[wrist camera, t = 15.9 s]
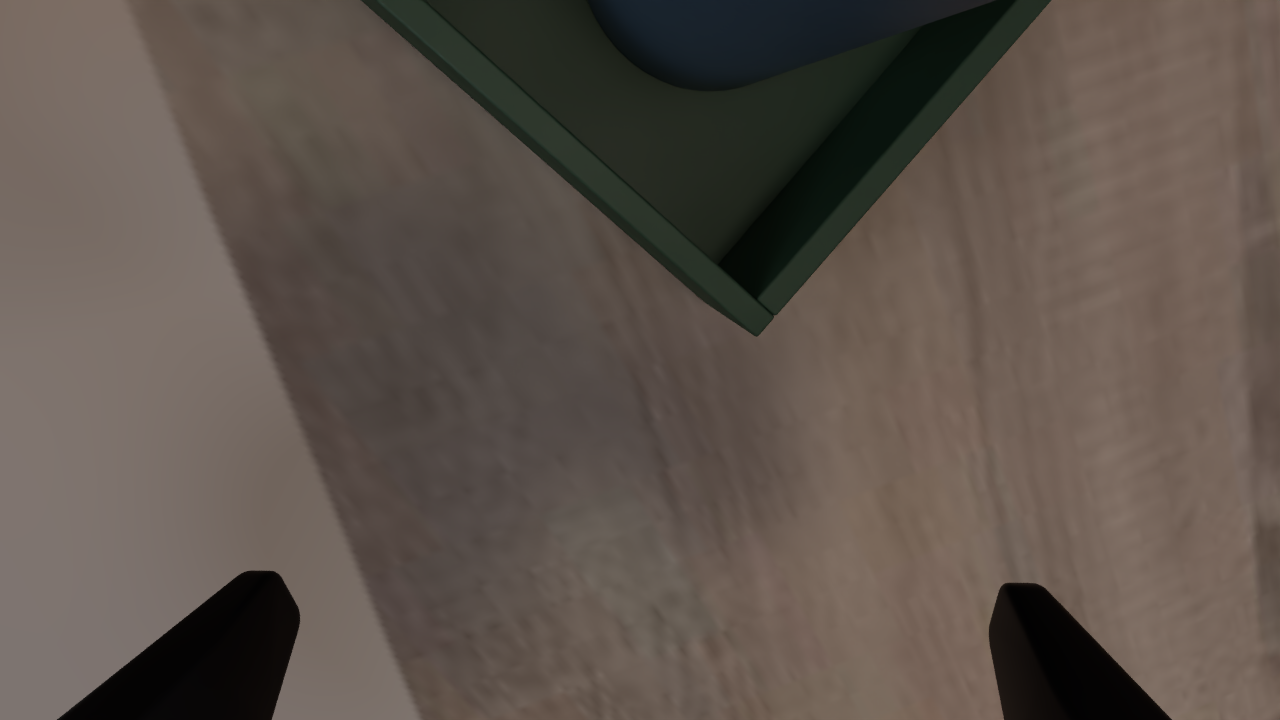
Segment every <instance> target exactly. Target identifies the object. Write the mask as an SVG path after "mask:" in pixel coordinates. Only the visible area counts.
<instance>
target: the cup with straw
mask: <svg viewBox="0 0 1280 720" xmlns="http://www.w3.org/2000/svg"><path fill="white" fill-rule="evenodd" d="M587 1H588V3H589V5H590V7H591V10H592V12H593V14H594V16H595V18H596V20H597V21H598V23H599V25H600V26H601V28H602V29H603V31H604V33H605V34H606V35H607V37H608V38H609V39H610V40H611V42H612V43H613V44H614V45H615V47H616V48H617V49H618V50H619V51H620V52H621V53H622V54H623V55H624V56H625V57H626V58H627V59H628V60H629V61H631V62H632V63H633V64H635V65H636V66H637V67H639V68H640V69H641V70H643V71H644V72H646V73H648V74H649V75H651V76H653V77H655V78H657V79H658V80H661V81H663V82H666V83H668V84H671V85H674V86H677V87H681V88H685V89H689V90H697V91H708V92H709V91H726V90H731V89H736V88H741V87H744V86H747V85H750V84H753V83H755V82H758V81H761V80H764V79H767V78H770V77H773V76H776V75H779V74H782V73H785V72H788V71H791V70H794V69H796V68H799V67H802V66H805V65H808V64H811V63H814V62H817V61H820V60H823V59H826V58H829V57H832V56H834V55H837V54H840V53H843V52H846V51H849V50H852V49H855V48H858V47H861V46H864V45H867V44H870V43H873V42H875V41H878V40H881V39H884V38H887V37H890V36H893V35H896V34H899V33H902V32H905V31H908V30H911V29H914V28H916V27H919V26H922V25H925V24H928V23H931V22H934V21H937V20H940V19H943V18H946V17H949V16H952V15H955V14H957V13H960V12H963V11H966V10H969V9H972V8H975V7H978V6H981V5H984V4H987V3H990V2H993V1H996V0H587Z"/></svg>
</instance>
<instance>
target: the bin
mask: <svg viewBox="0 0 1280 720" xmlns="http://www.w3.org/2000/svg"><path fill="white" fill-rule="evenodd" d="M361 1H362V2H364V3H365V4H366V5H367V6H368V7H369V8H370V9H372V10H373V11H374V12H375V13H376V14H377V15H378V16H380V17H381V18H382V19H383V20H384V21H385V22H386V23H387V24H389V25H390V26H391V27H392V28H393V29H394V30H395V31H397V32H398V33H399V34H400V35H401V36H402V37H403V38H405V39H406V40H407V41H408V42H409V43H410V44H411V45H413V46H414V47H415V48H416V49H417V50H418V51H419V52H420V53H422V54H423V55H424V56H425V57H426V58H427V59H428V60H430V61H431V62H432V63H433V64H434V65H435V66H436V67H438V68H439V69H440V70H441V71H442V72H443V73H444V74H446V75H447V76H448V77H449V78H450V79H451V80H452V81H453V82H455V83H456V84H457V85H458V86H459V87H460V88H461V89H463V90H464V91H465V92H466V93H467V94H468V95H469V96H471V97H472V98H473V99H474V100H475V101H476V102H477V103H479V104H480V105H481V106H482V107H483V108H484V109H485V110H486V111H488V112H489V113H490V114H491V115H492V116H493V117H494V118H496V119H497V120H498V121H499V122H500V123H501V124H502V125H504V126H505V127H506V128H507V129H508V130H509V131H510V132H511V133H513V134H514V135H515V136H516V137H517V138H518V139H519V140H521V141H522V142H523V143H524V144H525V145H526V146H527V147H529V148H530V149H531V150H532V151H533V152H534V153H535V154H537V155H538V156H539V157H540V158H541V159H542V160H543V161H544V162H546V163H547V164H548V165H549V166H550V167H551V168H552V169H554V170H555V171H556V172H557V173H558V174H559V175H560V176H562V177H563V178H564V179H565V180H566V181H567V182H568V183H570V184H571V185H572V186H573V187H574V188H575V189H576V190H577V191H579V192H580V193H581V194H582V195H583V196H584V197H585V198H587V199H588V200H589V201H590V202H591V203H592V204H593V205H595V206H596V207H597V208H598V209H599V210H600V211H601V212H603V213H604V214H605V215H606V216H607V217H608V218H609V219H610V220H612V221H613V222H614V223H615V224H616V225H617V226H618V227H620V228H621V229H622V230H623V231H624V232H625V233H626V234H628V235H629V236H630V237H631V238H632V239H633V240H634V241H636V242H637V243H638V244H639V245H640V246H641V247H642V248H643V249H645V250H646V251H647V252H648V253H649V254H650V255H651V256H653V257H654V258H655V259H656V260H657V261H658V262H659V263H661V264H662V265H663V266H664V267H665V268H666V269H667V270H668V271H670V272H671V273H672V274H673V275H674V276H675V277H676V278H678V279H679V280H680V281H681V282H682V283H683V284H684V285H686V286H687V287H688V288H689V289H690V290H691V291H692V292H694V293H695V294H696V295H697V296H698V297H699V298H700V299H701V300H703V301H704V302H705V303H706V304H708V305H709V306H711V307H712V308H714V309H715V310H717V311H718V312H720V313H721V314H723V315H724V316H726V317H727V318H729V319H730V320H732V321H733V322H735V323H736V324H738V325H739V326H741V327H742V328H744V329H745V330H746V331H748V332H749V333H751V334H752V335H754V336H756V337H757V336H759V335H760V333H761V332H762V331H763V330H764V329H765V328H766V326H767V325H768V324H769V323H770V322H771V321H772V320H773V318H774V316H773V315H777V314H778V313H779V312H780V311H781V309H782V308H783V307H784V306H785V305H786V304H787V303H788V301H789V300H790V299H791V298H792V297H793V296H794V295H795V293H796V292H797V291H798V290H799V289H800V288H801V287H802V285H803V284H804V283H805V282H806V281H807V280H808V279H809V277H810V276H811V275H812V274H813V273H814V272H815V270H816V269H817V268H818V267H819V266H820V265H821V264H822V262H823V261H824V260H825V259H826V258H827V257H828V256H829V254H830V253H831V252H832V251H833V250H834V249H835V248H836V246H837V245H838V244H839V243H840V242H841V241H842V240H843V238H844V237H845V236H846V235H847V234H848V233H849V232H850V230H851V229H852V228H853V227H854V226H855V225H856V224H857V222H858V221H859V220H860V219H861V218H862V217H863V216H864V214H865V213H866V212H867V211H868V210H869V209H870V207H871V206H872V205H873V204H874V203H875V202H876V201H877V199H878V198H879V197H880V196H881V195H882V194H883V193H884V191H885V190H886V189H887V188H888V187H889V186H890V185H891V183H892V182H893V181H894V180H895V179H896V178H897V177H898V175H899V174H900V173H901V172H902V171H903V170H904V169H905V167H906V166H907V165H908V164H909V163H910V162H911V161H912V159H913V158H914V157H915V156H916V155H917V154H918V153H919V151H920V150H921V149H922V148H923V147H924V146H925V144H926V143H927V142H928V141H929V140H930V139H931V138H932V136H933V135H934V134H935V133H936V132H937V131H938V130H939V128H940V127H941V126H942V125H943V124H944V123H945V122H946V120H947V119H948V118H949V117H950V116H951V115H952V114H953V112H954V111H955V110H956V109H957V108H958V107H959V106H960V104H961V103H962V102H963V101H964V100H965V99H966V98H967V96H968V95H969V94H970V93H971V92H972V91H973V90H974V88H975V87H976V86H977V85H978V84H979V83H980V81H981V80H982V79H983V78H984V77H985V76H986V75H987V73H988V72H989V71H990V70H991V69H992V68H993V67H994V65H995V64H996V63H997V62H998V61H999V60H1000V59H1001V57H1002V56H1003V55H1004V54H1005V53H1006V52H1007V51H1008V49H1009V48H1010V47H1011V46H1012V45H1013V44H1014V43H1015V41H1016V40H1017V39H1018V38H1019V37H1020V36H1021V35H1022V33H1023V32H1024V31H1025V30H1026V29H1027V28H1028V27H1029V25H1030V24H1031V23H1032V22H1033V21H1034V20H1035V18H1036V17H1037V16H1038V15H1039V14H1040V13H1041V12H1042V10H1043V9H1044V8H1045V7H1046V6H1047V5H1048V4H1049V2H1050V1H1051V0H996V1H993V2H990V3H987V4H984V5H981V6H978V7H975V8H972V9H969V10H966V11H963V12H960V13H957V14H955V15H952V16H949V17H946V18H943V19H940V20H937V21H934V22H931V23H928V24H925V25H922V26H919V27H916V28H914V29H911V30H908V31H905V32H902V33H899V34H896V35H893V36H890V37H887V38H884V39H881V40H878V41H875V42H873V43H870V44H867V45H864V46H861V47H858V48H855V49H852V50H849V51H846V52H843V53H840V54H837V55H834V56H832V57H829V58H826V59H823V60H820V61H817V62H814V63H811V64H808V65H805V66H802V67H799V68H796V69H794V70H791V71H788V72H785V73H782V74H779V75H776V76H773V77H770V78H767V79H764V80H761V81H758V82H755V83H753V84H750V85H747V86H744V87H741V88H736V89H731V90H726V91H709V92H708V91H697V90H689V89H685V88H681V87H677V86H674V85H671V84H668V83H666V82H663V81H661V80H658V79H657V78H655V77H653V76H651V75H649V74H648V73H646V72H644V71H643V70H641V69H640V68H639V67H637V66H636V65H635V64H633V63H632V62H631V61H629V60H628V59H627V58H626V57H625V56H624V55H623V54H622V53H621V52H620V51H619V50H618V49H617V48H616V47H615V45H614V44H613V43H612V42H611V40H610V39H609V38H608V37H607V35H606V34H605V33H604V31H603V29H602V28H601V26H600V25H599V23H598V21H597V20H596V18H595V16H594V14H593V12H592V10H591V7H590V5H589V3H588V1H587V0H361Z"/></svg>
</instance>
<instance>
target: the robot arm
mask: <svg viewBox="0 0 1280 720" xmlns="http://www.w3.org/2000/svg"><path fill="white" fill-rule="evenodd" d="M299 624H300V613H299V609H298V606H297V605H296V603H295V601H294V599H293V597H292V595H291V594H290V592H289V590H288V588H287V587H286V585H285V583H284V581H283V579H282V578H281V576H280V575H279V574H278V573H276V572H274V571H247V572H244V573H242V574H240V575H238V576H237V577H236V578H234V579H233V580H232V581H231V582H229V583H228V584H227V585H226V586H224V587H223V588H222V589H221V590H219V591H218V592H217V593H216V594H214V595H213V596H212V597H210V598H209V599H208V600H207V601H206V602H204V603H203V604H202V605H200V606H199V607H198V608H197V609H196V610H194V611H193V612H192V613H190V614H189V615H188V616H187V617H185V618H184V619H183V620H182V621H180V622H179V623H178V624H177V625H175V626H174V627H173V628H172V629H170V630H169V631H168V632H167V633H165V634H164V635H163V636H162V637H160V638H159V639H158V640H156V641H155V642H154V643H153V644H152V645H150V646H149V647H148V648H146V649H145V650H144V651H143V652H141V653H140V654H139V655H138V656H136V657H135V658H134V659H133V660H131V661H130V662H129V663H128V664H126V665H125V666H124V667H123V668H121V669H120V670H119V671H118V672H116V673H115V674H114V675H113V676H111V677H110V678H109V679H108V680H106V681H105V682H104V683H103V684H101V685H100V686H99V687H98V688H96V689H95V690H94V691H93V692H91V693H90V694H89V695H87V696H86V697H85V698H84V699H83V700H81V701H80V702H79V703H78V704H76V705H75V706H74V707H72V708H71V709H70V710H69V711H68V712H66V713H65V714H64V715H62V716H61V717H60V718H59V719H57V720H272V717H273V713H274V710H275V706H276V703H277V700H278V696H279V693H280V690H281V686H282V683H283V680H284V676H285V673H286V670H287V666H288V663H289V660H290V656H291V653H292V649H293V646H294V643H295V639H296V636H297V632H298V629H299ZM989 642H990V649H991V654H992V659H993V664H994V669H995V675H996V680H997V685H998V690H999V695H1000V700H1001V705H1002V711H1003V716H1004V720H1172V719H1171V718H1170V717H1169V716H1168V715H1167V714H1166V713H1165V712H1164V711H1163V710H1162V709H1161V708H1160V707H1159V706H1158V705H1157V704H1156V703H1155V702H1154V701H1153V700H1152V699H1151V697H1150V696H1149V695H1148V694H1147V693H1146V692H1145V691H1144V690H1143V689H1142V688H1141V687H1140V686H1139V685H1138V684H1137V683H1136V682H1135V681H1134V680H1133V679H1132V678H1131V677H1130V676H1129V675H1128V674H1127V673H1126V672H1125V670H1124V669H1123V668H1122V667H1121V666H1120V665H1119V664H1118V663H1117V662H1116V661H1115V660H1114V659H1113V658H1112V657H1111V656H1110V655H1109V654H1108V653H1107V652H1106V651H1105V650H1104V649H1103V648H1102V647H1101V646H1100V645H1099V643H1098V642H1097V641H1096V640H1095V639H1094V638H1093V637H1092V636H1091V635H1090V634H1089V633H1088V632H1087V631H1086V630H1085V629H1084V628H1083V627H1082V626H1081V625H1080V624H1079V623H1078V622H1077V621H1076V620H1075V619H1074V618H1073V616H1072V615H1071V614H1070V613H1069V612H1068V611H1067V610H1066V609H1065V608H1064V607H1063V606H1062V605H1061V604H1060V603H1059V602H1058V601H1057V600H1056V599H1055V598H1054V597H1053V596H1052V595H1051V594H1050V593H1049V592H1048V591H1047V590H1046V589H1045V588H1044V587H1042V586H1041V585H1039V584H1035V583H1005V584H1003V585H1002V586H1001V588H1000V590H999V593H998V596H997V600H996V603H995V607H994V611H993V614H992V618H991V621H990V626H989Z"/></svg>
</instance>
